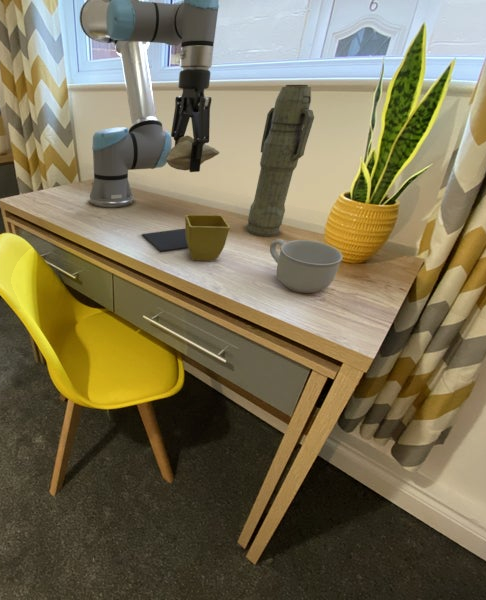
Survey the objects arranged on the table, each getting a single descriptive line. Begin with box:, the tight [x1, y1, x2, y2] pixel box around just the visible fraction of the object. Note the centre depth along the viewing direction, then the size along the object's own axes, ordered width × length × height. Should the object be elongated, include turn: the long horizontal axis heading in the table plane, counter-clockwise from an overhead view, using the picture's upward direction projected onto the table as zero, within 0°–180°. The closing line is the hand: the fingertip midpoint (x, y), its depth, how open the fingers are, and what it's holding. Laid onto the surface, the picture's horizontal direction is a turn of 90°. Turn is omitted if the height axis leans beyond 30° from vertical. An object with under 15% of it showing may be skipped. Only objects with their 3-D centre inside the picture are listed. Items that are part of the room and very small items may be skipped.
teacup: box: [269, 238, 344, 294], centre depth 66 cm, size 14×11×8 cm
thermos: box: [246, 84, 315, 237], centre depth 85 cm, size 9×12×35 cm
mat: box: [141, 228, 189, 253], centre depth 88 cm, size 12×16×1 cm
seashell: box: [166, 135, 220, 171], centre depth 90 cm, size 14×9×10 cm
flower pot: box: [184, 214, 231, 262], centre depth 77 cm, size 9×9×9 cm
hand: (185, 168), depth 92 cm, fingers closed on seashell, 8 cm apart
